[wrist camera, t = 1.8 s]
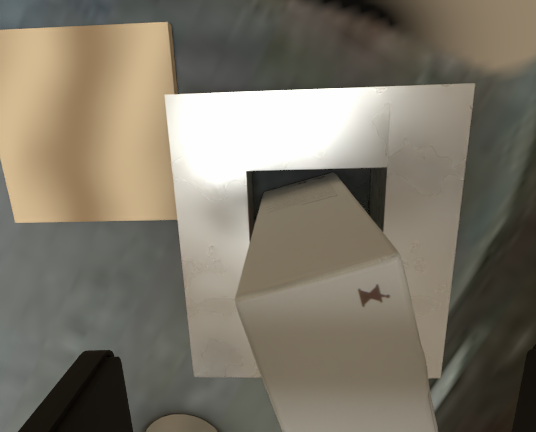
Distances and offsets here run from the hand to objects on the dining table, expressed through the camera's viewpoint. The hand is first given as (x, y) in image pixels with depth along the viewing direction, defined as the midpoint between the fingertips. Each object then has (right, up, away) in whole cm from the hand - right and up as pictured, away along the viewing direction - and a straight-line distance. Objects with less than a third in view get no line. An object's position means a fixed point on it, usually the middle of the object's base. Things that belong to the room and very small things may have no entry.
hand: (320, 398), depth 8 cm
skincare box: (+1, +3, +12) cm, 13 cm away
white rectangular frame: (+1, +3, +12) cm, 13 cm away
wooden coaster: (-11, +9, +11) cm, 18 cm away
